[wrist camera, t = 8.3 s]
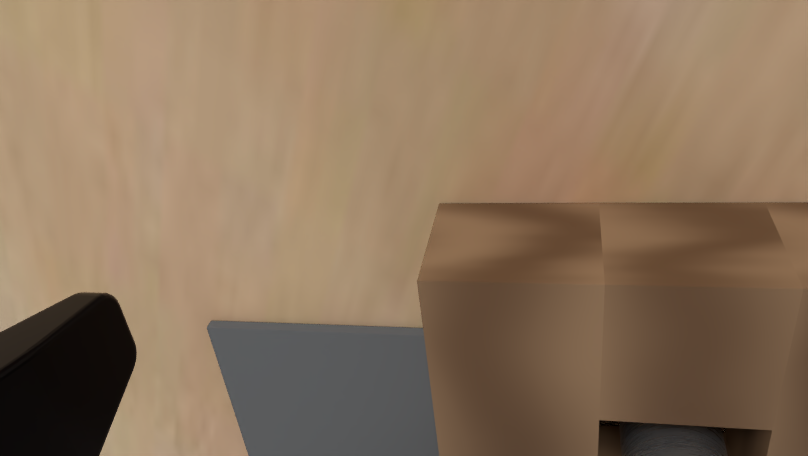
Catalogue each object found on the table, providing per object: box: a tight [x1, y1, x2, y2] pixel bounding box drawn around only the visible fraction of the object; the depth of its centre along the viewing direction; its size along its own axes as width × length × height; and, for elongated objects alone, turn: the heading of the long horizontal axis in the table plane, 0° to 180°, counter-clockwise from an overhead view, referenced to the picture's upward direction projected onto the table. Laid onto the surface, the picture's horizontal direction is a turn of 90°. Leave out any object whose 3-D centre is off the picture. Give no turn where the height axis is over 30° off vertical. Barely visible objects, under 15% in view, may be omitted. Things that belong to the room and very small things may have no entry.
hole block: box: [417, 203, 808, 456], centre depth 23 cm, size 14×14×4 cm
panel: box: [207, 321, 439, 456], centre depth 28 cm, size 10×10×1 cm
